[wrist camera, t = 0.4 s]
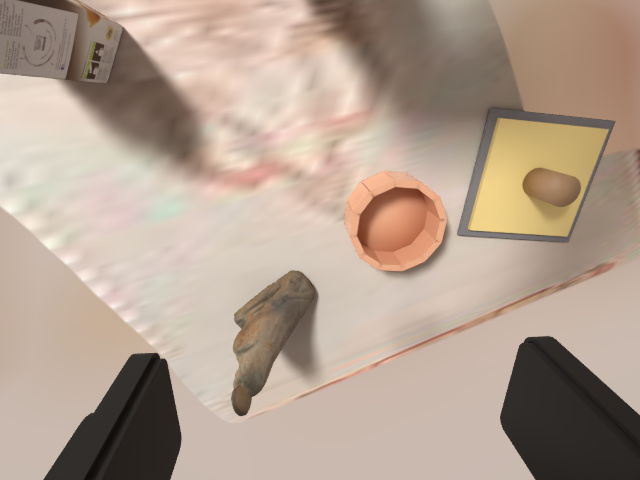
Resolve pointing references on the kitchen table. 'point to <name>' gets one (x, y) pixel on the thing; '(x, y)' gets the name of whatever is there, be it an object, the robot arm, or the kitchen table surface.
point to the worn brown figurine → (266, 333)
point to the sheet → (519, 161)
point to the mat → (482, 157)
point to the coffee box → (57, 40)
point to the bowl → (394, 221)
